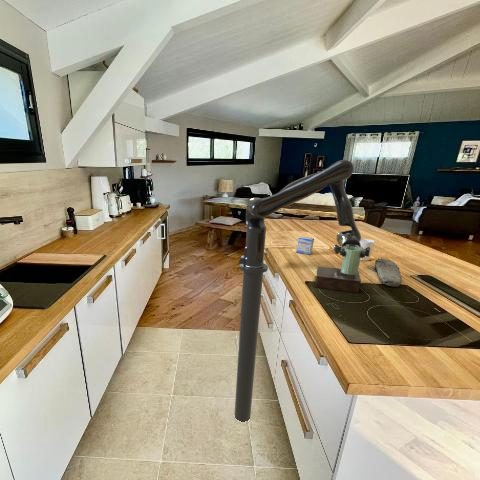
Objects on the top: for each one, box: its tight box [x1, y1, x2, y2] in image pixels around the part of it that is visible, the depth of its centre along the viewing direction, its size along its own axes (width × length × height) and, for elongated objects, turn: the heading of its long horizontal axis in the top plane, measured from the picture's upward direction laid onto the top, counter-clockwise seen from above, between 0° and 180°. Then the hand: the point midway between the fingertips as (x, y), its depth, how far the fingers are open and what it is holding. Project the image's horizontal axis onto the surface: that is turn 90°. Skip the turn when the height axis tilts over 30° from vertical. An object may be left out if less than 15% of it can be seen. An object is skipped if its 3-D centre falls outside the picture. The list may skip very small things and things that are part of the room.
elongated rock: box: [374, 257, 403, 288], centre depth 142 cm, size 35×5×10 cm
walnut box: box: [314, 265, 362, 294], centre depth 131 cm, size 16×14×5 cm
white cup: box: [360, 238, 376, 262], centre depth 165 cm, size 8×8×10 cm
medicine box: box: [295, 236, 315, 256], centre depth 177 cm, size 8×4×9 cm, turn 55°
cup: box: [340, 247, 362, 275], centre depth 126 cm, size 6×6×10 cm
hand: (352, 254), depth 123 cm, fingers closed on cup, 6 cm apart
